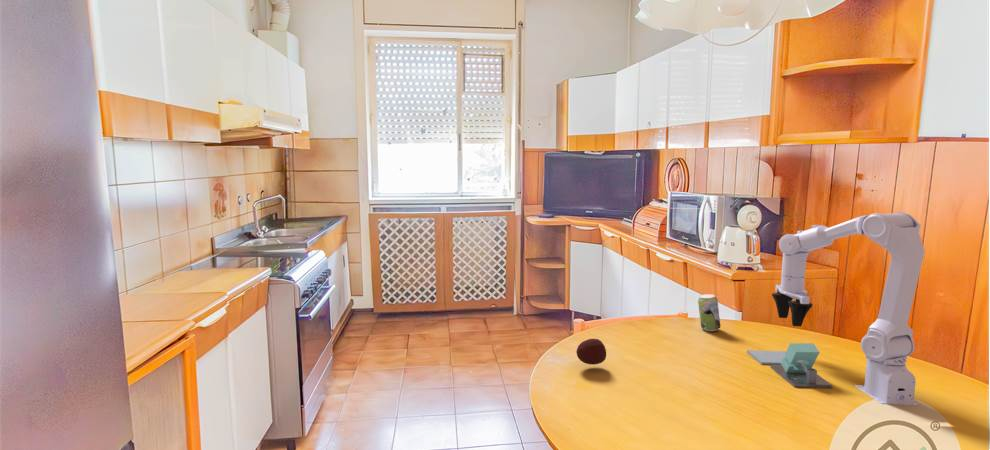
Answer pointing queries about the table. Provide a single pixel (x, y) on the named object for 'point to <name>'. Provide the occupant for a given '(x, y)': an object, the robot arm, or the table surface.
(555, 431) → the table surface
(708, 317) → the beverage can
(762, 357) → the mat
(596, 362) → the dark brown ball
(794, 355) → the c link
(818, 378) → the stand
